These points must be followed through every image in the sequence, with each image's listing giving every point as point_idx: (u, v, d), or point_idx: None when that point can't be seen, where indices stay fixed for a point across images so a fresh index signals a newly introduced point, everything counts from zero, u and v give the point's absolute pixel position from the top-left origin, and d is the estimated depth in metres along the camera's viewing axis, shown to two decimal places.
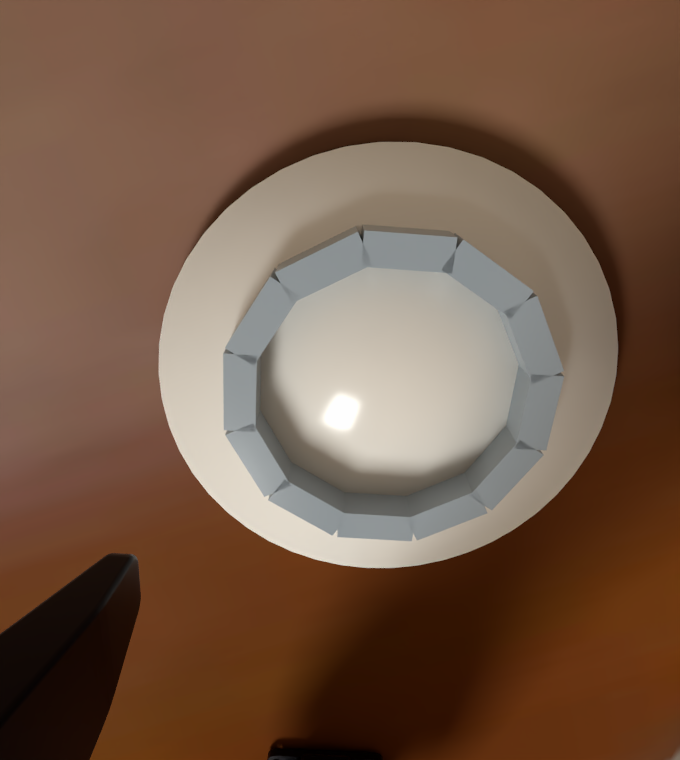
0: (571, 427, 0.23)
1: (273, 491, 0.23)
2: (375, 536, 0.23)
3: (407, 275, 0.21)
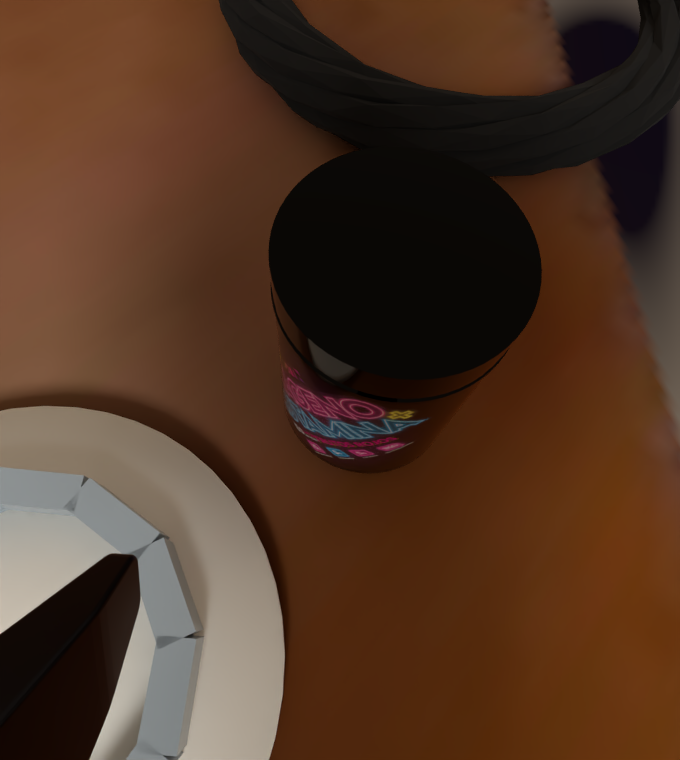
0: (242, 600, 0.19)
1: None
2: None
3: None
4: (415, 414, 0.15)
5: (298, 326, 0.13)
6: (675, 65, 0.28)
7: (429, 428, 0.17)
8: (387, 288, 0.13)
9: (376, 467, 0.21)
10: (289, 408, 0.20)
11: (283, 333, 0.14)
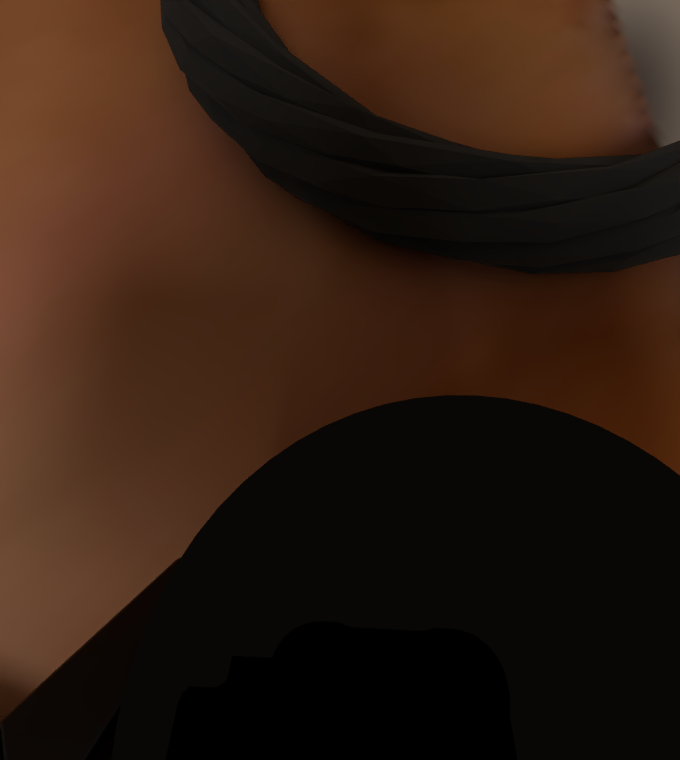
0: None
1: None
2: None
3: None
4: None
5: None
6: None
7: None
8: None
9: None
10: None
11: None
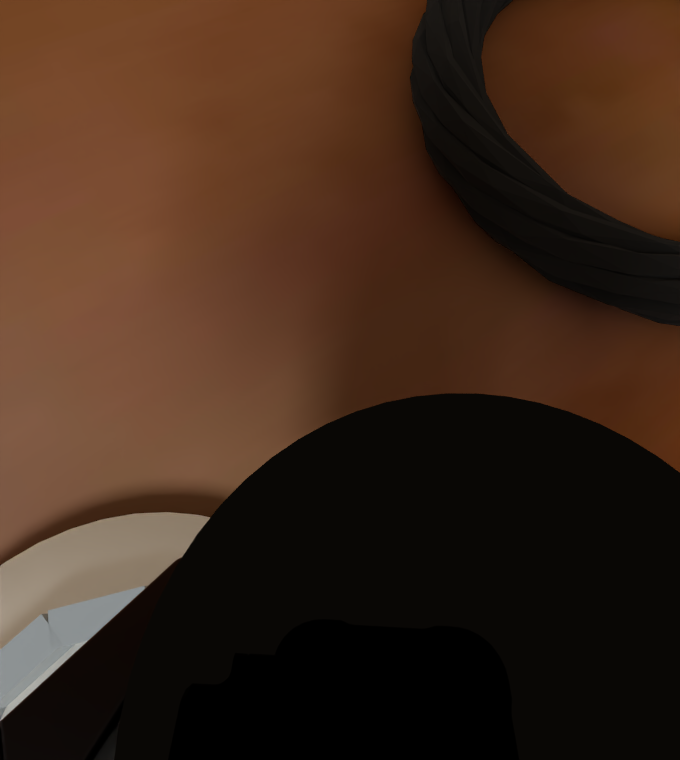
0: None
1: None
2: None
3: None
4: None
5: None
6: None
7: None
8: None
9: None
10: None
11: None
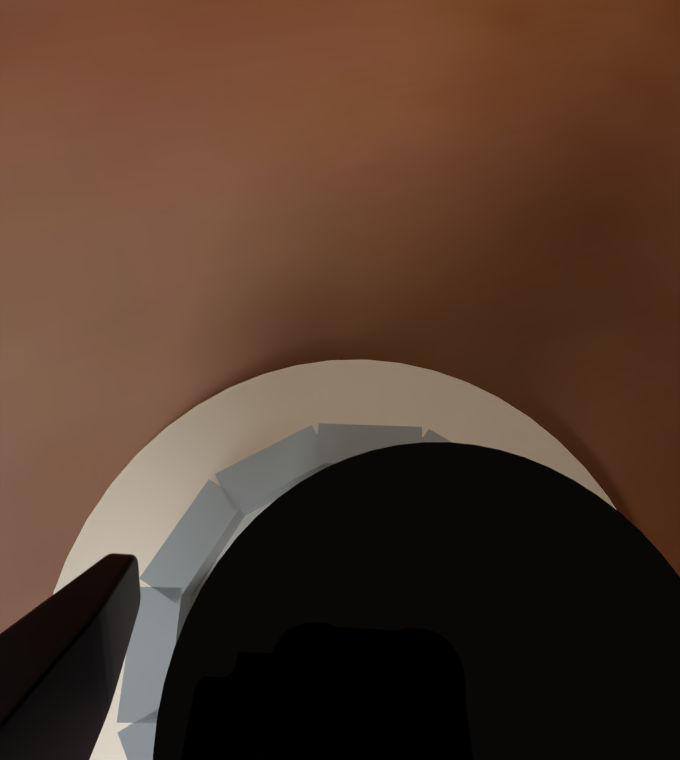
0: None
1: None
2: None
3: None
4: None
5: None
6: None
7: None
8: None
9: None
10: None
11: None
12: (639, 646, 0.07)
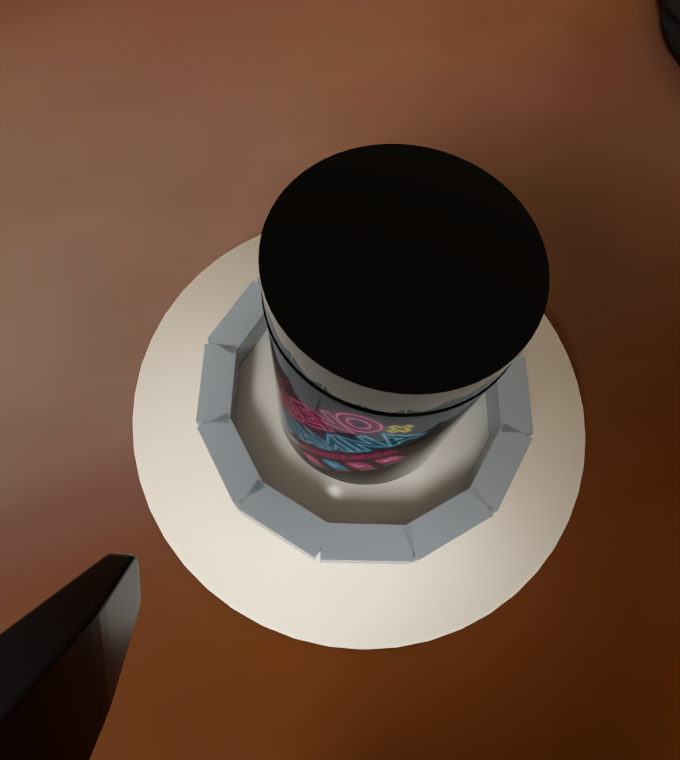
0: (555, 437, 0.23)
1: (244, 496, 0.20)
2: (367, 556, 0.19)
3: None
4: (416, 428, 0.14)
5: (290, 337, 0.12)
6: None
7: (430, 440, 0.16)
8: (385, 295, 0.13)
9: (374, 479, 0.20)
10: (283, 418, 0.20)
11: (275, 343, 0.14)
12: (497, 229, 0.13)
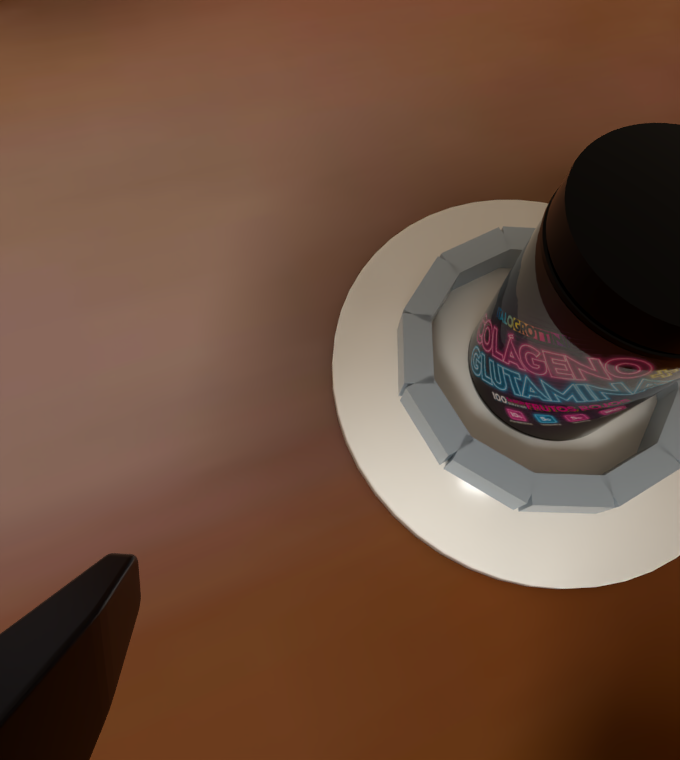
0: None
1: (457, 449, 0.22)
2: (573, 502, 0.21)
3: None
4: (676, 373, 0.16)
5: (609, 286, 0.14)
6: None
7: (660, 390, 0.18)
8: None
9: (572, 434, 0.22)
10: (493, 378, 0.21)
11: (564, 296, 0.16)
12: None
